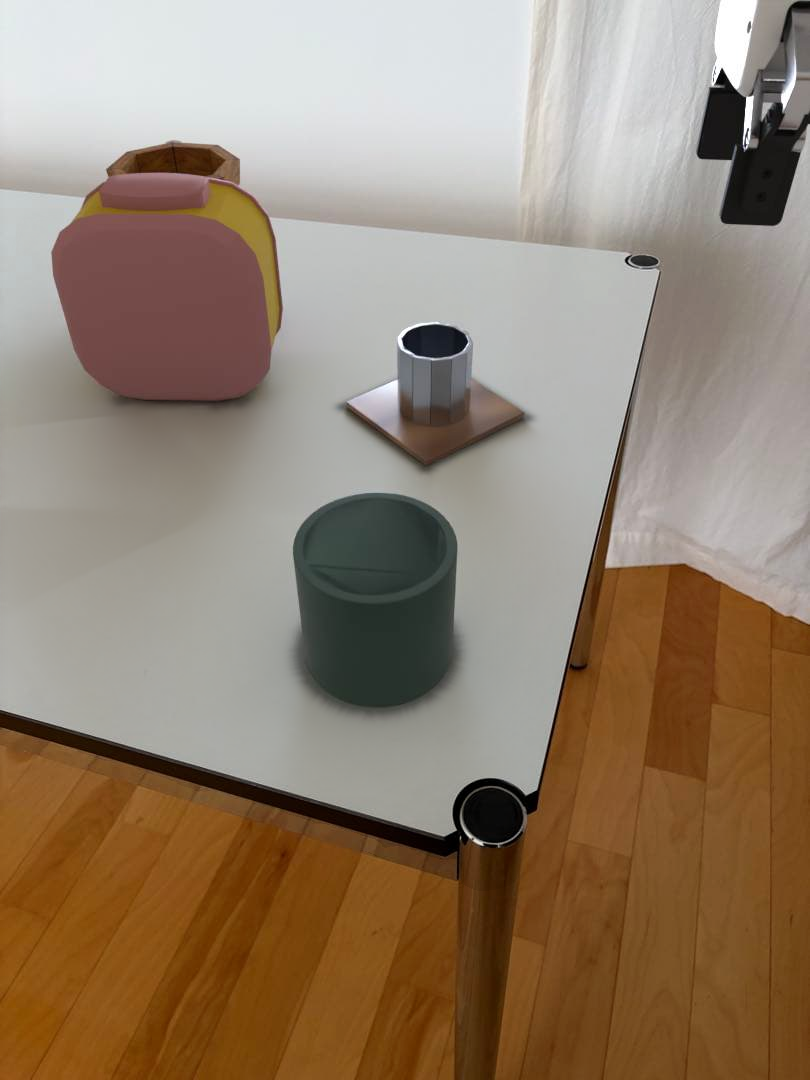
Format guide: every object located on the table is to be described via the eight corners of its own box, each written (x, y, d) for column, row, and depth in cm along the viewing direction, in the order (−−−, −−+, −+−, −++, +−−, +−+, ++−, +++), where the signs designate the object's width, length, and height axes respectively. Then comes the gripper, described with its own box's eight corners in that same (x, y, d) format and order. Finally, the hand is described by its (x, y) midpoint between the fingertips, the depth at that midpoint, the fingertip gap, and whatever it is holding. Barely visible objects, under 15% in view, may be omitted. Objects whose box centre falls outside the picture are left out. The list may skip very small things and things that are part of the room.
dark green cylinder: (483, 656, 63) (491, 552, 56) (364, 734, 58) (358, 630, 51) (391, 575, 69) (389, 472, 62) (276, 639, 64) (261, 535, 57)
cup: (483, 409, 84) (487, 343, 80) (429, 435, 81) (430, 368, 77) (437, 380, 88) (439, 315, 84) (384, 403, 85) (383, 338, 80)
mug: (261, 321, 98) (244, 183, 88) (135, 334, 96) (103, 194, 86) (247, 246, 112) (231, 119, 102) (137, 256, 110) (109, 128, 100)
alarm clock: (289, 350, 94) (270, 159, 81) (275, 409, 86) (251, 209, 72) (113, 348, 94) (66, 158, 81) (82, 407, 86) (24, 207, 73)
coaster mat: (524, 417, 84) (524, 412, 84) (426, 466, 79) (426, 461, 79) (441, 365, 91) (441, 359, 91) (345, 406, 86) (345, 401, 85)
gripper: (982, -175, 34) (837, 256, 46) (861, -203, 47) (771, 140, 58) (778, -176, 35) (686, 250, 46) (713, -203, 47) (654, 136, 59)
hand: (734, 188), depth 52 cm, fingers open, 9 cm apart
